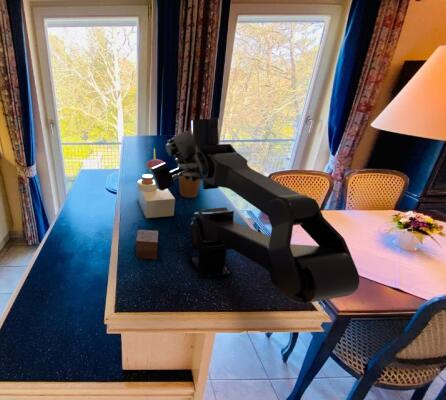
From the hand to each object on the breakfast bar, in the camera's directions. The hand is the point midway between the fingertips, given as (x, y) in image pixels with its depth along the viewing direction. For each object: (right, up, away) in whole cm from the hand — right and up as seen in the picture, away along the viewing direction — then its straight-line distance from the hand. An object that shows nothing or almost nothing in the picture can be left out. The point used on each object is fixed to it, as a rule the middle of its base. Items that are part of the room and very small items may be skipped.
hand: (175, 165), depth 76 cm
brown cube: (-9, -23, -10) cm, 27 cm away
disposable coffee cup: (+9, -8, +22) cm, 25 cm away
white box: (-5, -13, +12) cm, 18 cm away
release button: (-7, -4, +12) cm, 15 cm away
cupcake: (-2, +1, +40) cm, 40 cm away
